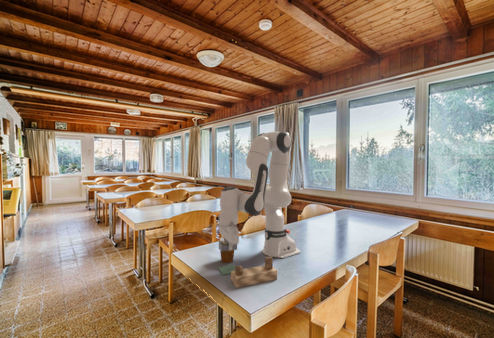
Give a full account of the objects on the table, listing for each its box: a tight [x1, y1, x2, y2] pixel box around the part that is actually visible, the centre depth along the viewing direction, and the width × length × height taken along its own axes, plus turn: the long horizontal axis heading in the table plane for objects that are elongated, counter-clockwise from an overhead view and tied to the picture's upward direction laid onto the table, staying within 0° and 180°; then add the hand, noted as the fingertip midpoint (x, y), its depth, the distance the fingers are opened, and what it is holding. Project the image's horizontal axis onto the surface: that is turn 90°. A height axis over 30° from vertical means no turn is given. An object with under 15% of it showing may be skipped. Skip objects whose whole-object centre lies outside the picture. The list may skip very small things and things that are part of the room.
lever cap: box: [218, 241, 238, 252], centre depth 113 cm, size 8×4×4 cm, turn 113°
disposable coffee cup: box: [218, 236, 235, 264], centre depth 125 cm, size 10×10×12 cm
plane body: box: [229, 256, 278, 289], centre depth 105 cm, size 21×7×9 cm, turn 113°
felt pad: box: [217, 264, 236, 276], centre depth 114 cm, size 8×8×1 cm
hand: (228, 247), depth 113 cm, fingers closed on lever cap, 4 cm apart
